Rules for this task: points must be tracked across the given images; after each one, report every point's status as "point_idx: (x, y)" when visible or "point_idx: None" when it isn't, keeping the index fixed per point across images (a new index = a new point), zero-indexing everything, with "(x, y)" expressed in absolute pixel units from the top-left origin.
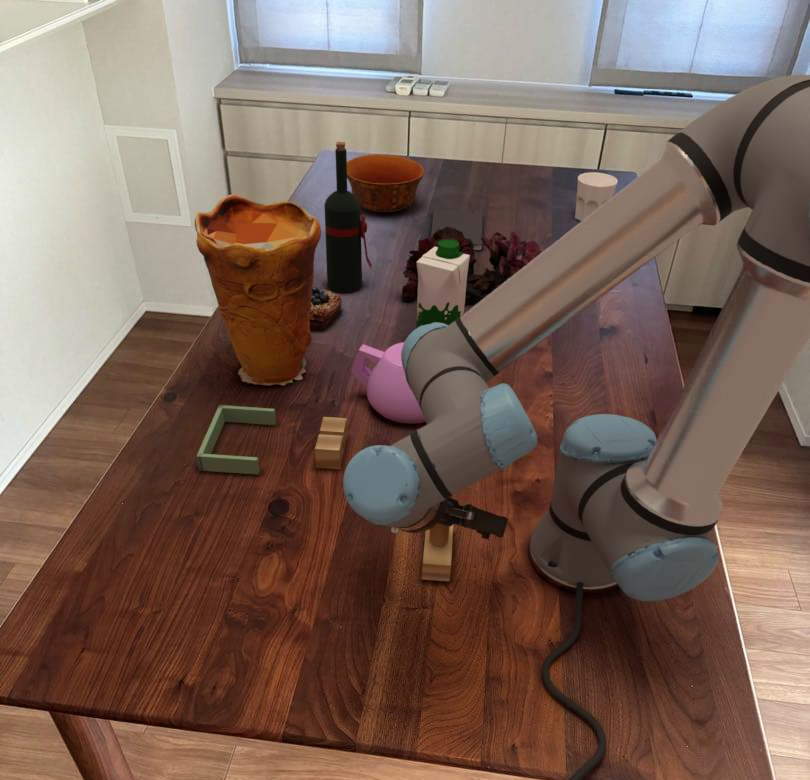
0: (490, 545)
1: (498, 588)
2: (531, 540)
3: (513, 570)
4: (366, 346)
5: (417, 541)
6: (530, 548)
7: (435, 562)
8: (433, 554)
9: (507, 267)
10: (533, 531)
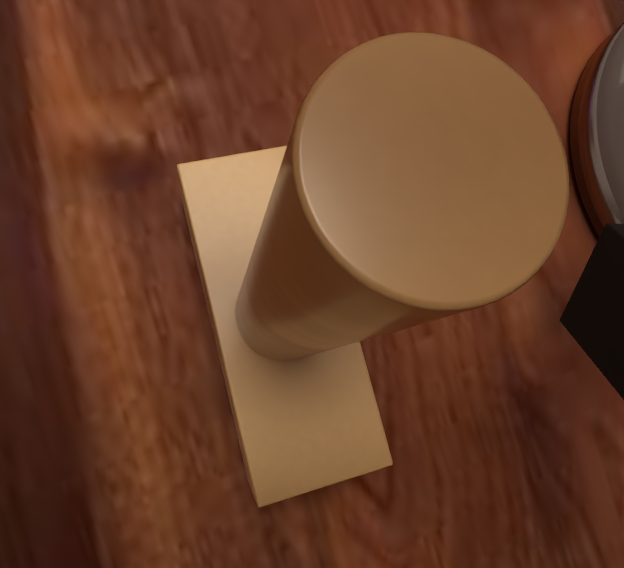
0: None
1: (539, 411)
2: (622, 170)
3: (557, 300)
4: None
5: (162, 266)
6: (615, 202)
7: (317, 475)
8: (290, 422)
9: None
10: (620, 123)
